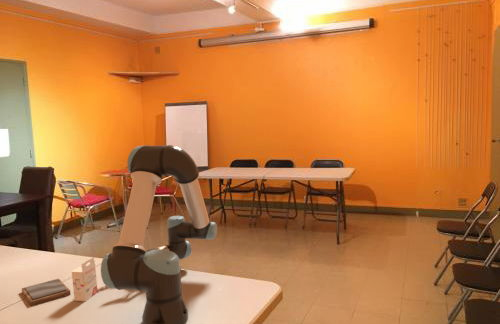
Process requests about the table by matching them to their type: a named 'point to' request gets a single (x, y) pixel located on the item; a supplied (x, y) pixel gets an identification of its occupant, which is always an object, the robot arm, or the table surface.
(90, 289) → the ink cartridge box
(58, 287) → the walnut stand
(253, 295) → the table surface
